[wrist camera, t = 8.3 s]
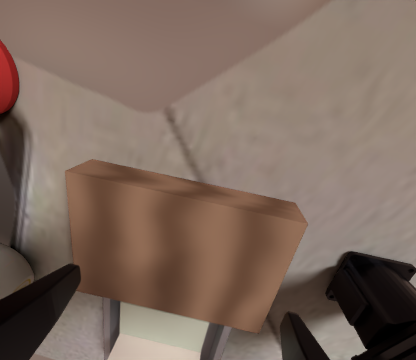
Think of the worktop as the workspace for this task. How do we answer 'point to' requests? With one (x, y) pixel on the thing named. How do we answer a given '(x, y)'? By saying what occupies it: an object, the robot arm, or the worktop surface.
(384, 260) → the robot arm
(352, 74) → the worktop surface
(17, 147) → the worktop surface
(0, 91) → the canned food
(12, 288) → the air freshener
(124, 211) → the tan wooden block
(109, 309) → the box
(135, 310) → the sage tile
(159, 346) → the cream tile
